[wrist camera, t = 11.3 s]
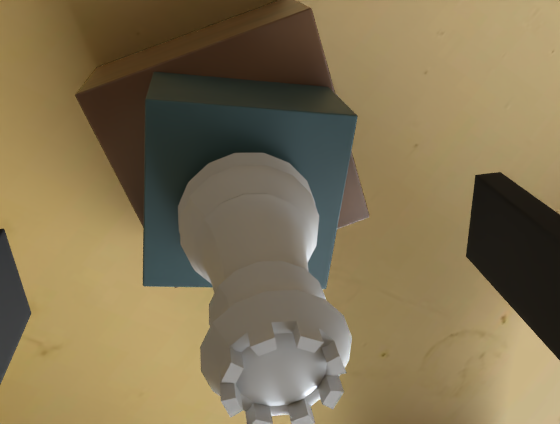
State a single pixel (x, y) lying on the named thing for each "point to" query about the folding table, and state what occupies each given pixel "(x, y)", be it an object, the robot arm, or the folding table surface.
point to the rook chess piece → (262, 289)
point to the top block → (237, 139)
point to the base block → (215, 63)
